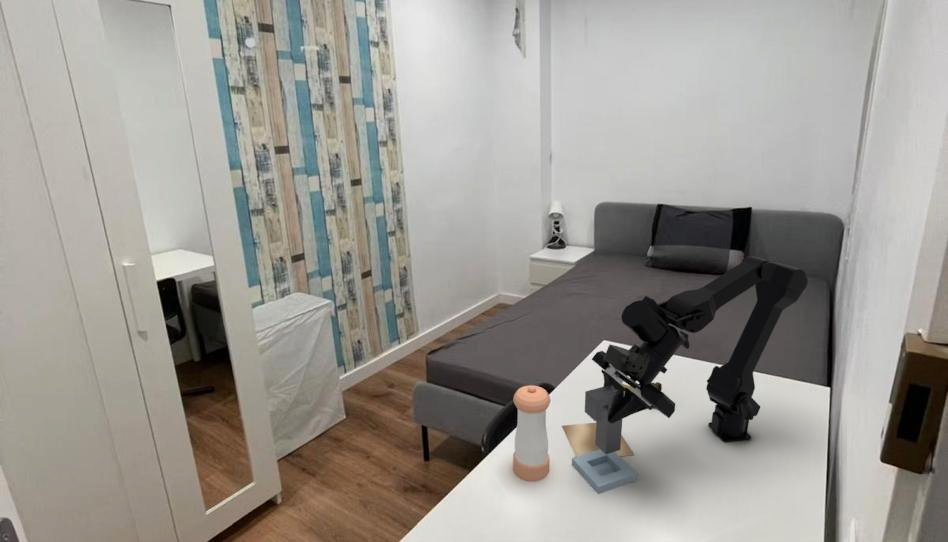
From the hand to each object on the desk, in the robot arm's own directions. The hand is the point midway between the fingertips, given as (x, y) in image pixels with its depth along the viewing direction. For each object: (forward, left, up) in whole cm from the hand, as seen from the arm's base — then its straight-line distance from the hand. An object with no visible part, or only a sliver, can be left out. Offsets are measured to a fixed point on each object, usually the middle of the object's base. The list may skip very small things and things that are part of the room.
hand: (603, 416), depth 97 cm
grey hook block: (0, 0, -7) cm, 7 cm away
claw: (-19, -29, -14) cm, 38 cm away
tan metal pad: (-3, -10, -13) cm, 17 cm away
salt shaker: (+13, -3, -13) cm, 19 cm away
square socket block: (-1, 0, -13) cm, 13 cm away
